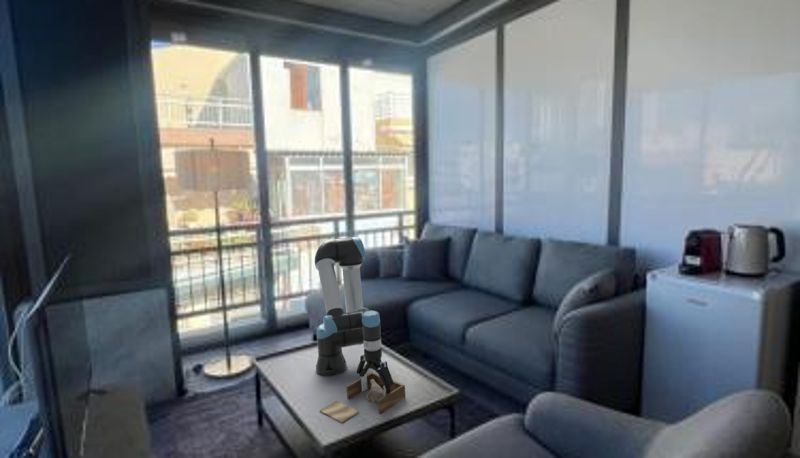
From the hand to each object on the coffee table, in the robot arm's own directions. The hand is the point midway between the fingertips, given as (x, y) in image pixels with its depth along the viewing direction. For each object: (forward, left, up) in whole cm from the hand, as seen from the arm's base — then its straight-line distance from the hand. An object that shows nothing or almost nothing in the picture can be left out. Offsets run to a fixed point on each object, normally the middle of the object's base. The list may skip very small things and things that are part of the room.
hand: (375, 394), depth 190 cm
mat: (-5, -16, -2) cm, 17 cm away
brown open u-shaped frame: (0, 0, -2) cm, 2 cm away
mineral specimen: (0, 0, -2) cm, 2 cm away
